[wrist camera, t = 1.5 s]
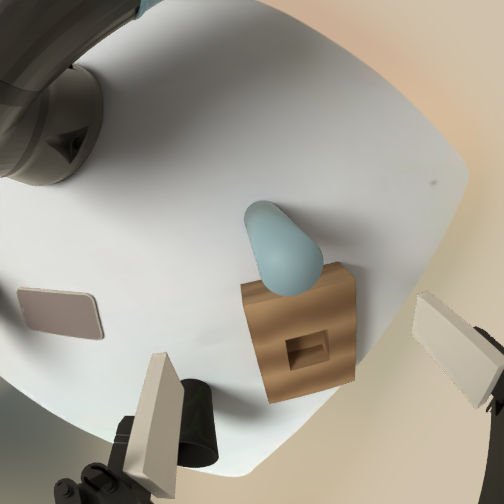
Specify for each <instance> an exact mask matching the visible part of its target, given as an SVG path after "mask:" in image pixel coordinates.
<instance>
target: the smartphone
mask: <svg viewBox="0 0 504 504" xmlns="http://www.w3.org/2000/svg"><path fill="white" fill-rule="evenodd" d="M16 294H17V298H18V301H19V304H20V308H21V311H22V314H23V317H24V320H25V322H26V325H27V326H28V328H29V329H31V330H33V331H38V332H44V333H49V334H55V335H61V336H68V337H74V338H82V339H89V340H101V338H102V337H103V332H102V329H101V324H100V320H99V319H98V312H97V308H96V303H95V300H94V298H93V296H92V295H90V294H89V293H83V292H70V291H58V290H47V289H37V288H27V287H20V288H18V289H17V291H16Z"/></svg>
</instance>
